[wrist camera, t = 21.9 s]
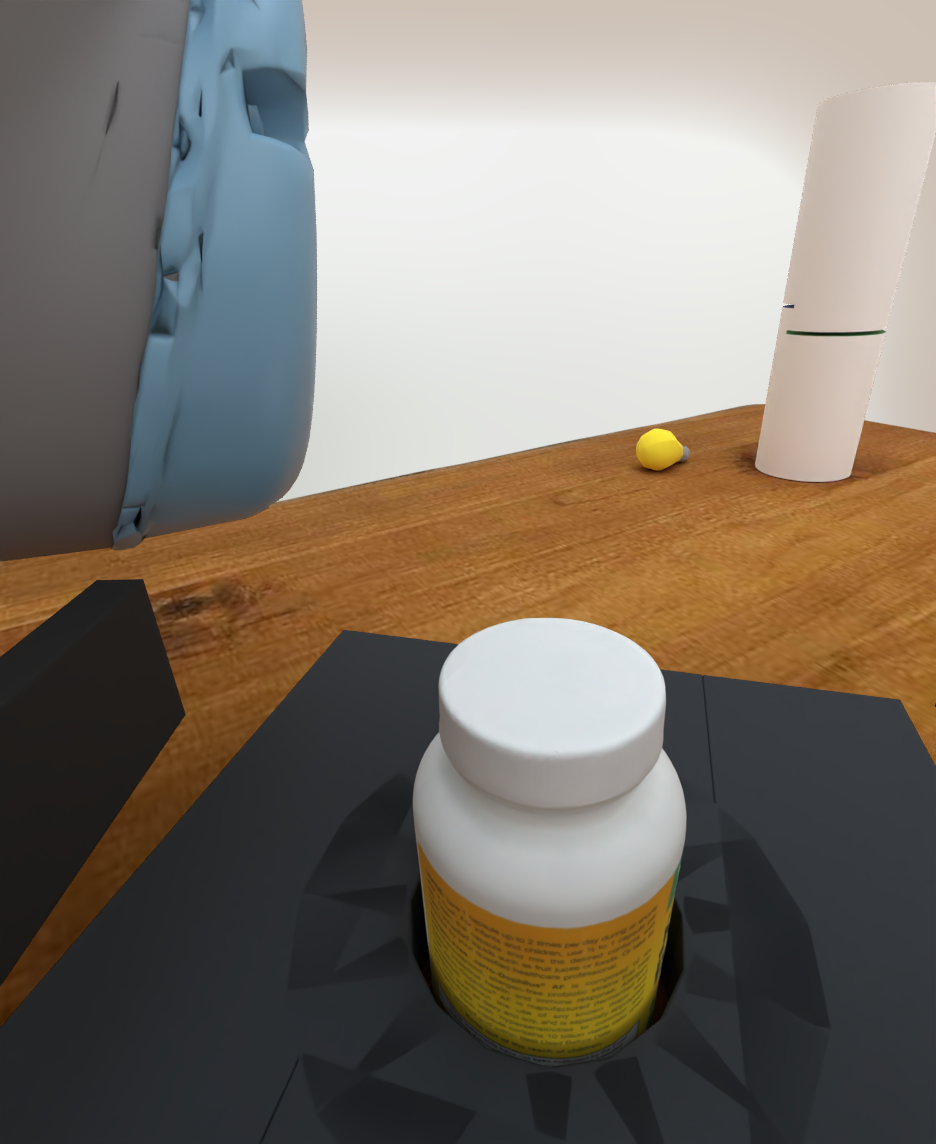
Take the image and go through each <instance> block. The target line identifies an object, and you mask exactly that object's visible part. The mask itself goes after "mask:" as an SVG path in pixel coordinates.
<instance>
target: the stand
mask: <svg viewBox="0 0 936 1144" xmlns="http://www.w3.org/2000/svg"><path fill="white" fill-rule="evenodd" d="M458 645H459V644H452V643H444V642H436V641H428V640H420V639H412V638H404V637H397V636H389V635H381V634H373V633H365V632H357V631H349V630H343V631H342V632H341V634H340V635H339V636H338V637H337V638H336V639H335V641H334V642H333V643H332V644H331V645H330V646H329V648H328V649H327V650H326V651H325V652H324V653H323V654H322V656H321V657H320V658H319V659H318V660H317V661H316V663H315V664H314V665H313V666H312V667H311V668H310V670H309V671H308V672H307V673H306V674H305V675H304V676H303V678H302V679H301V680H300V681H299V682H298V683H297V685H296V686H295V687H294V688H293V689H292V690H291V692H290V693H289V694H288V695H287V696H286V697H285V698H284V700H283V701H282V702H281V703H280V704H279V705H278V707H277V708H276V709H275V710H274V711H273V712H272V714H271V715H270V716H269V717H268V718H267V719H266V720H265V722H264V723H263V724H262V725H261V726H260V727H259V729H258V730H257V731H256V732H255V733H254V734H253V736H252V737H251V738H250V739H249V740H248V741H247V742H246V744H245V745H244V746H243V747H242V748H241V749H240V751H239V752H238V753H237V754H236V755H235V756H234V758H233V759H232V760H231V761H230V762H229V763H228V764H227V766H226V767H225V768H224V769H223V770H222V771H221V773H220V774H219V775H218V776H217V777H216V778H215V780H214V781H213V782H212V783H211V784H210V785H209V787H208V788H207V789H206V790H205V791H204V792H203V793H202V795H201V796H200V797H199V798H198V799H197V800H196V802H195V803H194V804H193V805H192V806H191V807H190V809H189V810H188V811H187V812H186V813H185V814H184V815H183V817H182V818H181V819H180V820H179V821H178V822H177V824H176V825H175V826H174V827H173V828H172V829H171V831H170V832H169V833H168V834H167V835H166V836H165V837H164V839H163V840H162V841H161V842H160V843H159V844H158V846H157V847H156V848H155V849H154V850H153V851H152V853H151V854H150V855H149V856H148V857H147V858H146V859H145V861H144V862H143V863H142V864H141V865H140V866H139V868H138V869H137V870H136V871H135V872H134V873H133V875H132V876H131V877H130V878H129V879H128V880H127V881H126V883H125V884H124V885H123V886H122V887H121V888H120V890H119V891H118V892H117V893H116V894H115V895H114V897H113V898H112V899H111V900H110V901H109V902H108V903H107V905H106V906H105V907H104V908H103V909H102V910H101V912H100V913H99V914H98V915H97V916H96V917H95V919H94V920H93V921H92V922H91V923H90V924H89V925H88V927H87V928H86V929H85V930H84V931H83V932H82V934H81V935H80V936H79V937H78V938H77V939H76V941H75V942H74V943H73V944H72V945H71V946H70V947H69V949H68V950H67V951H66V952H65V953H64V954H63V956H62V957H61V958H60V959H59V960H58V961H57V963H56V964H55V965H54V966H53V967H52V968H51V969H50V971H49V972H48V973H47V974H46V975H45V976H44V978H43V979H42V980H41V981H40V982H39V983H38V985H37V986H36V987H35V988H34V989H33V990H32V991H31V993H30V994H29V995H28V996H27V997H26V998H25V1000H24V1001H23V1002H22V1003H21V1004H20V1005H19V1007H18V1008H17V1009H16V1010H15V1011H14V1012H13V1014H12V1015H11V1016H10V1017H9V1018H8V1019H7V1020H6V1022H5V1023H4V1024H3V1025H2V1026H1V1027H0V1144H936V766H935V764H934V762H933V760H932V758H931V757H930V755H929V753H928V751H927V749H926V747H925V745H924V744H923V742H922V740H921V738H920V736H919V734H918V732H917V731H916V729H915V727H914V725H913V723H912V721H911V719H910V718H909V716H908V714H907V712H906V710H905V708H904V706H903V705H902V703H901V701H900V700H898V699H890V698H882V697H874V696H866V695H858V694H850V693H842V692H834V691H826V690H818V689H810V688H802V687H794V686H786V685H778V684H770V683H762V682H754V681H747V680H739V679H731V678H723V677H715V676H707V675H703V676H702V675H700V674H692V673H684V672H676V671H668V670H660V671H661V673H662V675H663V678H664V682H665V690H666V709H665V719H664V729H663V745H662V749H663V750H664V751H665V753H666V754H667V756H668V758H669V759H670V761H671V763H672V765H673V766H674V768H675V770H676V772H677V775H678V777H679V780H680V783H681V786H682V789H683V793H684V799H685V805H686V815H687V818H686V835H685V843H684V849H683V854H682V859H681V865H680V870H679V876H678V881H677V886H676V890H675V896H674V901H673V906H672V912H671V917H670V923H669V928H668V934H667V941H666V948H665V954H664V957H663V961H662V967H661V976H662V979H663V981H664V984H665V986H666V989H667V999H668V1003H667V1006H666V1008H665V1010H664V1012H663V1014H662V1016H661V1019H660V1020H659V1021H658V1022H656V1023H655V1024H654V1025H652V1026H651V1027H650V1028H648V1029H647V1030H646V1031H644V1032H643V1033H642V1034H640V1035H639V1036H638V1037H636V1038H635V1039H634V1040H632V1041H631V1042H630V1043H628V1044H627V1045H626V1046H624V1047H623V1048H622V1049H620V1050H619V1051H618V1052H616V1053H615V1054H614V1055H612V1056H611V1057H610V1058H604V1059H598V1060H591V1061H585V1062H579V1063H572V1064H566V1065H560V1066H553V1067H547V1066H543V1065H540V1064H537V1063H534V1062H530V1061H527V1060H524V1059H520V1058H517V1057H514V1056H511V1055H507V1054H504V1053H501V1052H497V1051H494V1050H491V1049H488V1048H486V1047H485V1046H484V1045H482V1044H481V1043H480V1042H479V1041H478V1040H477V1039H476V1038H474V1037H473V1036H472V1035H471V1034H470V1033H469V1032H468V1031H466V1030H465V1029H464V1028H463V1027H462V1026H461V1025H460V1024H458V1023H457V1022H456V1021H455V1020H454V1019H453V1018H452V1017H450V1016H449V1015H448V1014H447V1013H446V1012H445V1011H444V1010H442V1009H441V1008H440V1007H439V1006H438V1005H437V1003H436V1001H435V999H434V997H433V995H432V993H431V991H430V989H429V987H428V984H427V982H426V980H425V978H424V976H423V974H422V969H423V966H424V963H425V960H426V957H427V954H428V951H429V950H428V941H427V932H426V923H425V913H424V904H423V895H422V886H421V877H420V868H419V859H418V851H417V842H416V834H415V825H414V815H413V790H414V783H415V779H416V774H417V771H418V768H419V765H420V762H421V760H422V758H423V756H424V753H425V752H426V750H427V748H428V747H429V745H430V743H431V742H432V740H433V739H434V738H435V736H436V735H437V734H438V733H439V720H440V712H439V688H438V685H439V677H440V673H441V669H442V667H443V664H444V663H445V661H446V659H447V657H448V656H449V654H450V653H451V652H452V651H453V649H455V648H456V647H457V646H458Z"/></svg>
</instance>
